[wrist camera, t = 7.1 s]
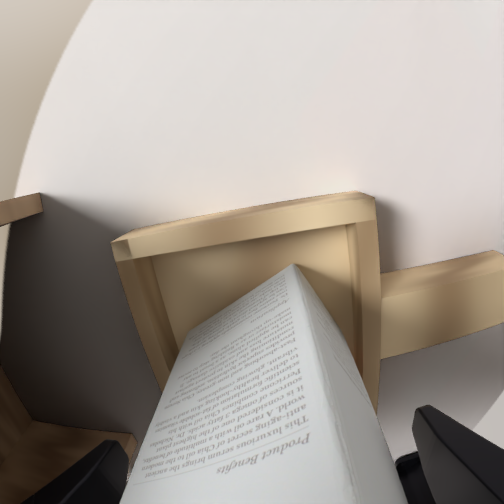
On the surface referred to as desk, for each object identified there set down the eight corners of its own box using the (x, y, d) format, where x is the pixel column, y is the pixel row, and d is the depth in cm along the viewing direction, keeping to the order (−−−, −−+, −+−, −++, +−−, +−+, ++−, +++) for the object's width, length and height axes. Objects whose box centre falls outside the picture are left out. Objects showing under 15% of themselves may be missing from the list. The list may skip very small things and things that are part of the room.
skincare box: (242, 388, 15) (213, 618, 4) (186, 329, 14) (82, 576, 3) (346, 328, 14) (435, 582, 3) (296, 257, 13) (370, 577, 2)
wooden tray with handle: (492, 175, 12) (524, 181, 10) (479, 356, 15) (499, 378, 13) (135, 228, 14) (110, 242, 12) (193, 410, 17) (184, 441, 14)
